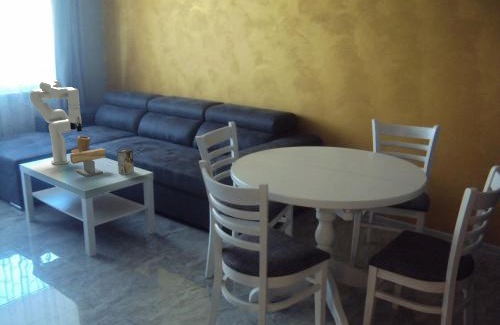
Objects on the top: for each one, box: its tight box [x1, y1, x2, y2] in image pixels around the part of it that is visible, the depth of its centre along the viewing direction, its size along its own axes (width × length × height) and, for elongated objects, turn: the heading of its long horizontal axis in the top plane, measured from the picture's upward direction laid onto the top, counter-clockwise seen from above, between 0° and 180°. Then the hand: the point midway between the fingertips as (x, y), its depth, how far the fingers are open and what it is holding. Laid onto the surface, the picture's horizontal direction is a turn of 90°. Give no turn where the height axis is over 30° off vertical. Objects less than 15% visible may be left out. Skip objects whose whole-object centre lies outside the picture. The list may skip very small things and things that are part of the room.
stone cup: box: [70, 135, 91, 154], centre depth 381 cm, size 15×12×15 cm
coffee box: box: [116, 148, 135, 176], centre depth 336 cm, size 9×6×16 cm
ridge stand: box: [75, 160, 104, 178], centre depth 335 cm, size 16×12×10 cm
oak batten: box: [69, 147, 106, 165], centre depth 333 cm, size 4×24×6 cm, turn 136°
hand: (76, 130), depth 338 cm, fingers open, 9 cm apart
